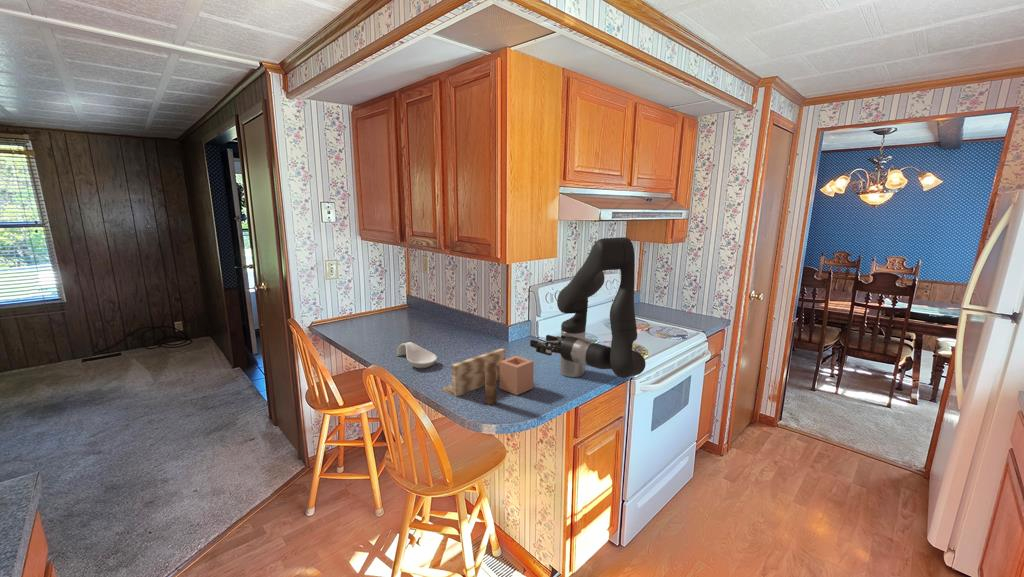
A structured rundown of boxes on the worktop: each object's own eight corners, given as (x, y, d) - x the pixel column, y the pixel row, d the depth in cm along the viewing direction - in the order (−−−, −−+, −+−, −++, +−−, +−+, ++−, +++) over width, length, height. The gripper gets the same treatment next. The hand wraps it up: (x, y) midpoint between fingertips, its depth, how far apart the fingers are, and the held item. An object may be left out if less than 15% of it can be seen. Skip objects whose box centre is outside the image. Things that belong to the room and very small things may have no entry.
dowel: (490, 399, 145) (490, 360, 143) (498, 402, 143) (498, 362, 140) (483, 402, 143) (482, 362, 140) (490, 406, 141) (490, 365, 138)
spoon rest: (442, 366, 176) (442, 349, 175) (417, 374, 168) (416, 356, 167) (412, 352, 193) (411, 337, 192) (388, 358, 185) (387, 342, 184)
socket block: (515, 381, 160) (515, 355, 158) (533, 387, 154) (533, 361, 152) (499, 388, 154) (499, 361, 152) (517, 395, 148) (517, 367, 146)
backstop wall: (492, 372, 169) (492, 345, 167) (505, 376, 165) (505, 349, 163) (443, 390, 152) (442, 361, 150) (455, 396, 148) (455, 366, 146)
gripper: (593, 334, 136) (552, 325, 148) (565, 344, 126) (524, 333, 138) (592, 357, 138) (552, 346, 149) (565, 368, 128) (524, 356, 139)
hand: (538, 340), depth 143 cm, fingers open, 7 cm apart
